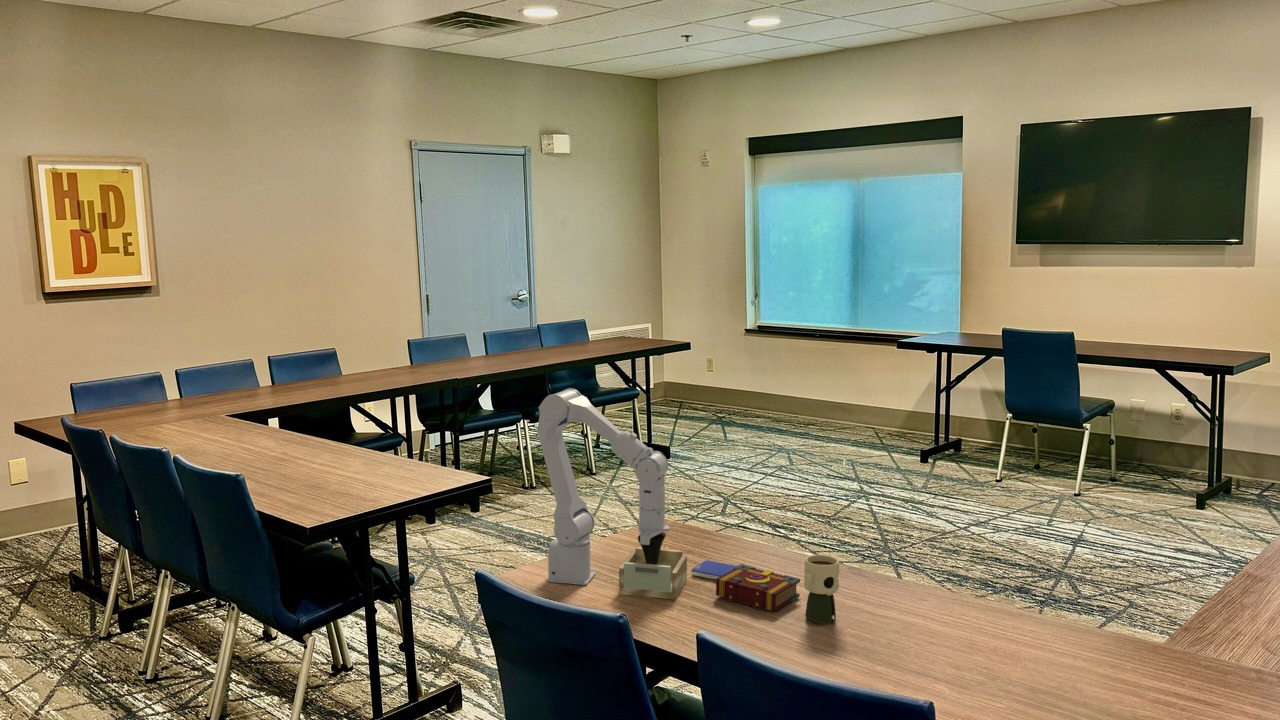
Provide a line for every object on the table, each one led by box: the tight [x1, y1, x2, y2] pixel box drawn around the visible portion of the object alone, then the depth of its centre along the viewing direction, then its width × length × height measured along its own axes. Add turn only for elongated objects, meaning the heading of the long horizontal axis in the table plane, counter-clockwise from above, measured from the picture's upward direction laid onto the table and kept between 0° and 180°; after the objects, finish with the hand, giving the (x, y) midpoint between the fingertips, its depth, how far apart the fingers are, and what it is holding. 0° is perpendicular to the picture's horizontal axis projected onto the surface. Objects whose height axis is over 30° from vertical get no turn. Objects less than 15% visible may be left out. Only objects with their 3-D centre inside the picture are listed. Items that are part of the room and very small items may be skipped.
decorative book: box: [715, 563, 801, 612], centre depth 217 cm, size 11×16×5 cm
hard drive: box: [690, 559, 738, 580], centre depth 231 cm, size 2×8×12 cm
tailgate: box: [624, 562, 671, 592], centre depth 217 cm, size 10×2×6 cm, turn 76°
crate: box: [618, 546, 688, 600], centre depth 223 cm, size 13×12×7 cm
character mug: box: [803, 554, 840, 624], centre depth 204 cm, size 11×7×13 cm, turn 137°
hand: (651, 565), depth 221 cm, fingers closed
